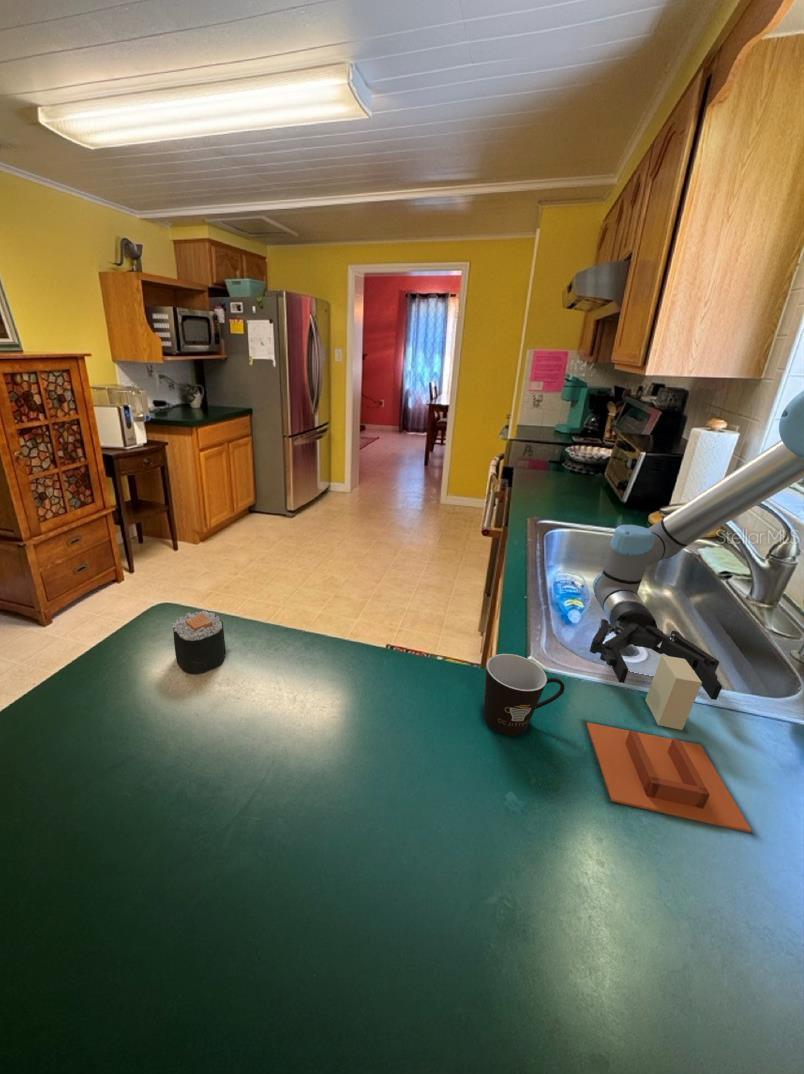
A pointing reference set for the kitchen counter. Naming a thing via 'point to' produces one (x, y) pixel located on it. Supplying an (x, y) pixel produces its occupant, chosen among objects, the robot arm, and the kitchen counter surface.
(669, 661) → the block
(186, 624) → the sushi
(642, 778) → the base pad
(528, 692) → the coffee mug
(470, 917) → the kitchen counter surface
